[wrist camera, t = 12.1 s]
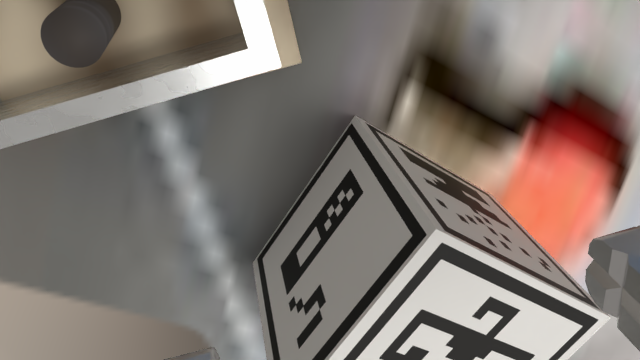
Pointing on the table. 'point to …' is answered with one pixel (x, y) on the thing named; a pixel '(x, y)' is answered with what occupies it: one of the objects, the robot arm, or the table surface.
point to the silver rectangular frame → (143, 81)
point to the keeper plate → (115, 36)
